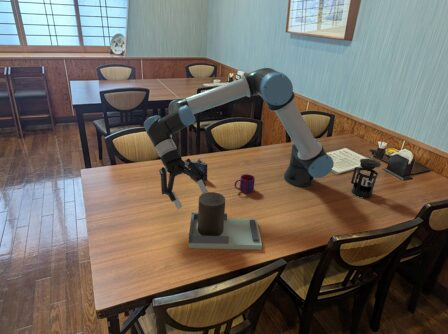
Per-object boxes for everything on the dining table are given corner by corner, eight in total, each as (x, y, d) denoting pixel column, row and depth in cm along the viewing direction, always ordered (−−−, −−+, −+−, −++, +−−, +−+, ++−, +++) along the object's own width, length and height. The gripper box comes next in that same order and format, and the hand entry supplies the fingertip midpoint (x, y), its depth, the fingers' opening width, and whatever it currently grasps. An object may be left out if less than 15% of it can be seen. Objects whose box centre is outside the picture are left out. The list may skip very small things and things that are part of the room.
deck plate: (256, 222, 124) (257, 213, 122) (261, 249, 110) (262, 239, 108) (191, 221, 123) (191, 211, 121) (188, 248, 108) (188, 237, 107)
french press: (377, 196, 149) (390, 152, 139) (365, 201, 144) (378, 156, 134) (356, 185, 158) (367, 144, 148) (344, 189, 153) (355, 147, 143)
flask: (189, 177, 156) (189, 158, 152) (191, 175, 159) (191, 156, 154) (206, 181, 154) (206, 161, 149) (208, 178, 156) (208, 159, 152)
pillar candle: (214, 241, 109) (216, 205, 103) (192, 231, 114) (193, 196, 107) (228, 228, 117) (231, 194, 111) (207, 219, 121) (208, 185, 115)
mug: (255, 192, 146) (257, 179, 143) (236, 195, 143) (237, 182, 140) (250, 185, 152) (251, 173, 149) (231, 188, 149) (232, 175, 146)
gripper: (188, 149, 131) (212, 193, 128) (137, 166, 114) (163, 217, 111) (197, 141, 125) (221, 187, 123) (144, 157, 108) (172, 210, 106)
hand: (194, 201), depth 117 cm, fingers open, 13 cm apart
